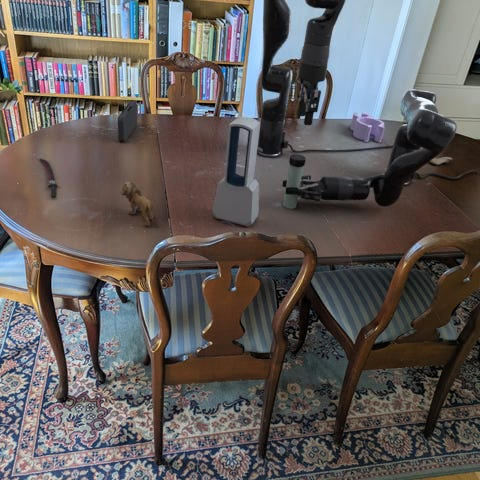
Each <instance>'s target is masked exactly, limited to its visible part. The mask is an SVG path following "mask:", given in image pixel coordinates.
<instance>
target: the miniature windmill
mask: <svg viewBox="0 0 480 480" xmlns="http://www.w3.org/2000/svg"><path fill="white" fill-rule="evenodd" d="M300 61H301V57H300V58H299V61H298V65H297V67H293V66H292V65H289V64H286V66H285V67H286V68H290V69H291V70H292V71H294V74H293V77H292V82H291V87H290V92H289V97H288V100H289V99H290V100H294V104H291V103H290V104H289V103H288V104H287V106H291V107H287V109H286V110H294V111H293V115H292V114H291V115H290V114H286V116H285V117H292V118H293V120H292V119H286V118H285V122H286V121H287V122H293V130H294V131H295V130H296V125H298V117H299V116H298V114H297V113H298V97H297V96H298V90H297V89H298V87H297V85H299V84H300V79H298V78H299V77H298V73H299V67H300ZM291 90H294V95H293V94H290V93H291ZM292 107H294V108H292Z"/></svg>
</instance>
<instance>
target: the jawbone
mask: <svg viewBox="0 0 480 480" xmlns="http://www.w3.org/2000/svg"><path fill="white" fill-rule="evenodd" d="M450 160H451V161H453V158H452V157H450V156H444V157H443V156H442V157H440V158H436V157H435V158H433V159H432V160H431V161H430V162H429V163H431V164H433V165H436V166H437V165H441V164H443V163H444V164H446V165H447V164H448V163H449V161H450Z"/></svg>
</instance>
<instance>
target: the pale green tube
mask: <svg viewBox="0 0 480 480" xmlns="http://www.w3.org/2000/svg"><path fill="white" fill-rule="evenodd" d="M303 172H304V166H303V167H295V166H292V165H290V164H289V166H288V173H287V179H286V180H287V184H286V187H298V189H299V188H300V183H301V177H302V176H303ZM286 187H285V188H286ZM298 198H299V196H298V195H291V194H286V193H285V192H284V198H283V203H282V206H283V207H284V208H286V209H290V210H292V209H295V208H297V206H298Z"/></svg>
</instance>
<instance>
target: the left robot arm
mask: <svg viewBox="0 0 480 480" xmlns="http://www.w3.org/2000/svg"><path fill="white" fill-rule="evenodd" d="M304 1H305V3H306V5H307V6H309V7H311V8H313V9H322V10H323V9H324V12H323V13H322V14H321V15H320V16H318V17H313V18H310V19H309V20H308V21H307V24H306V28H305V29H306V30H305V35H304V42H303V47H302V49H301V55H300V58H301V60H300V66H299V68H298V69H299V73H298V78H299V81H300V83H298V90H297V102H298V106H297V116H298V117H304V119H303V124H304V126H312V125H313V121H314V114H315V113H318V111H319V105H320V100H321V95H322V90H321V89H319V83H323V82H324V81H325V80H326V77H327V72H328V66H329V61H330V55H331V45H332V41H333V40H332V39H333V34H334V30H335V26H336V25H337V22H338V20H339V17H340V14H341V13H342V11H343V9H344V6H345V4H346V1H347V0H304ZM262 8H263V11H262V61H261V63H262V64H261V75H260V76H261V78H260V84H261V89H262V90H263V91H265V92H268V93H269V92H270V93H274V94H275V93H276V94H278V96H277V97H275V98H269V99H266V100H264V101H263V102H262V105H261V114H260V121H259V122H260V129H259V137H258V145H257V154H258V155H259V156H262V157H264V158H265V157H266V158H277V157H279V156H281V155H282V154H283V149H284V150H285V149H288V147H289V148H290V151H292V152H293V153H294V154H300V153H308V152H320V153H321V152H322V153H324V152H327V153H328V152H329V153H333V152H334V153H335V152H336V153H337V152H339V153H340V152H342V153H343V152H359V151H370V150H377V149H378V150H379V149H388V148H393V145H394V144H393V145H383V146H374V147H373V146H372V147H365V148H352V149H304V150H294V148H293V146H292V144H290V143H289V141H288V140H286V139H285V136H286V130H284V128H285V122H286V120H285V119H286V117H287V116H286V115H287V110H288V109H287V108H288V105H287V104H289V98H290V96H289V95H290V93H291V90H290V87H291V84H292V83H291V82H292V80H293V70H291V69H290V68H286V66H280V65H275V64H274V58H275V56H276V55H277V53H278V52H279V51H280V49H281V48H283V45H284V44H285V43H286V42H287V40H288V39H289V37H290V35H291V27H292V12H291V8H290V7H289V5H288V3H287V2H286V0H263V7H262ZM291 88H292V87H291ZM289 92H290V93H289ZM288 97H289V98H288Z"/></svg>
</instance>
